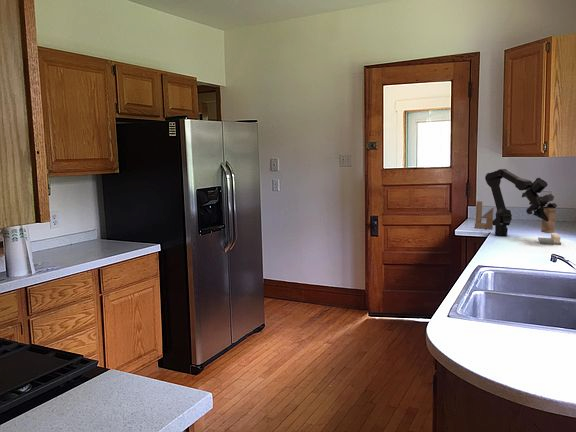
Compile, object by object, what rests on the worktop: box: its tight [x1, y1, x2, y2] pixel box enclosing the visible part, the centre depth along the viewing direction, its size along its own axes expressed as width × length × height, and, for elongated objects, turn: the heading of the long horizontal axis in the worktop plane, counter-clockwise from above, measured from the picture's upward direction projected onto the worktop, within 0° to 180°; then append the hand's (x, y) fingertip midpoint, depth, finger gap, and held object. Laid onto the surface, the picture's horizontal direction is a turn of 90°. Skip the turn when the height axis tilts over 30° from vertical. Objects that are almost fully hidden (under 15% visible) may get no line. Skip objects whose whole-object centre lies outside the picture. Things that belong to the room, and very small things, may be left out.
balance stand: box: [537, 232, 562, 246], centre depth 280 cm, size 10×16×4 cm, turn 158°
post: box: [540, 208, 557, 234], centre depth 271 cm, size 4×4×13 cm
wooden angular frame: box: [474, 200, 495, 230], centre depth 328 cm, size 4×11×18 cm, turn 56°
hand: (550, 220), depth 270 cm, fingers closed on post, 4 cm apart
